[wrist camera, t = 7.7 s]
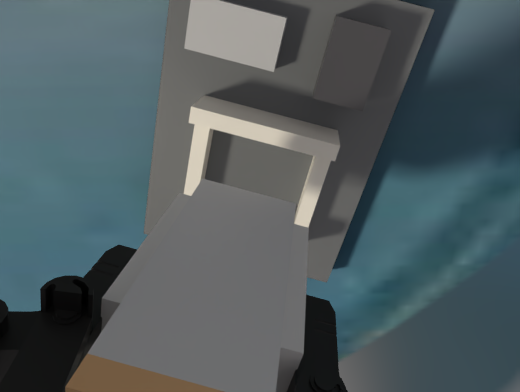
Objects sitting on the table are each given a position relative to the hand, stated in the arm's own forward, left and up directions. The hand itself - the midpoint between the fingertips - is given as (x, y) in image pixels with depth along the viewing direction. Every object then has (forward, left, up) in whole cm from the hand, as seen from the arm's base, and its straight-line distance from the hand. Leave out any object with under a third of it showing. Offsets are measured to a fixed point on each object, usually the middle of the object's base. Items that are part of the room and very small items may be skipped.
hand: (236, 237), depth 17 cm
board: (-2, 0, -8) cm, 8 cm away
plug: (0, 0, -1) cm, 1 cm away
